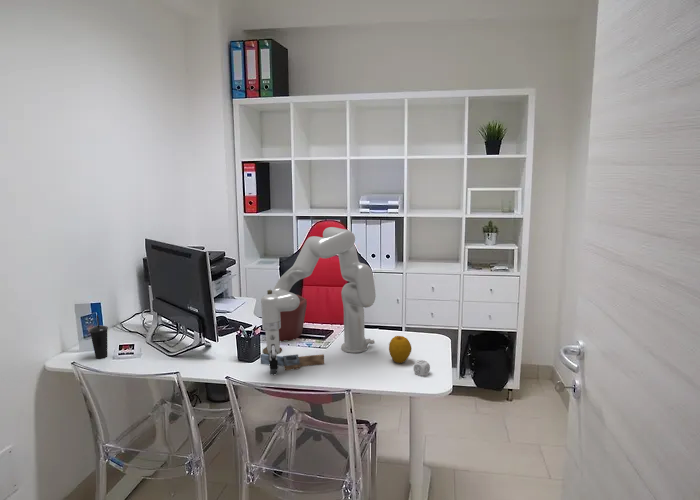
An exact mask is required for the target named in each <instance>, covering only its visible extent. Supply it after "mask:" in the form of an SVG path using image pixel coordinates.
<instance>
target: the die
mask: <svg viewBox="0 0 700 500" xmlns="http://www.w3.org/2000/svg"><path fill="white" fill-rule="evenodd" d="M430 371H431V365H430V363H429V362H428V361H427V360H424V359H419V360H417V361H415V362H414V364H413V372H414V374H415V375H417V376H418V377H425V376H428V374H429V373H430Z"/></svg>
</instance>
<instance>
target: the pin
mask: <svg viewBox="0 0 700 500" xmlns="http://www.w3.org/2000/svg"><path fill="white" fill-rule="evenodd" d="M271 353H272V351H271ZM271 356H272V354H271ZM269 360H270V354H269ZM269 374H270V375H271V374H273V375H272V376H275V375H274V374H276V375H278V369H270V368H269Z"/></svg>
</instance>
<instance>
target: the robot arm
mask: <svg viewBox="0 0 700 500" xmlns="http://www.w3.org/2000/svg"><path fill="white" fill-rule="evenodd" d="M355 242H356V236H355V234H354V232H353V231H351V230H349V229H345V228H340V227H335V226H330V227H326V228H325V229H324V230H323V232H322V237H321V236H316V235H315V236H313V235H312V236H309V237H308V238H307V239H306V240H305V242H304V244H303V245H302V247H301V250H300V251H299V254H298V255H297V258H296V260H295V262H294V263H293V265H292V266H291V267H290V268H289V269H287V270H286V271H285V272H284V273H283V274H282V275H281V276H280V277H279V279H278V280H277V282H276V283H275V285H274V287H273V289H272V291H273V292H272V294H265V295H263V296H262V297H261V298H260V300H261V301H260V303H261V305H260V306H261V324H262V330H263V331H265V342H266V347H267V349H268V353H269V354H270V360H269V362H270V365H269V370H270V369H277V370H278V368H279V367H278V360H277V356H278V354H281V352H280V347H281V345H280V341H279V330H278V329H280V328H281V320H280V312H282V311H293V310H295V309H296V308H297V307H298V306H299V304H300V300H299V298H298V296H297V295H298V294H295V293H293V292H290V291H291V289H292V287H293V286H294V285H295V284H296V283H297V282H299V281H300V280H303V279H305V278H308V277H310V276H311V275H312V274H313V271H314V269H315V267H316V266H317V264H318V262H319V259H330V258H332V257H335V256H338V260H339V269H340V273H341V277H342V279H343V280H344V281H347V282H348V283H345V284H344V285H343V286H342V288H341V291H340V292H341V301H342V305H343V306H342V307H343V336H344V337H343V340H344V341H343V343H341V345H340V349H341V350H342V351H343V352H346V353H351V354H359V353H363V352H366V351H367V350H368V348H369V345H374V344H376V343H375V339H371V338H365V309H364V308H371V307H372V306H373V305H374V303H376V302H375V301H376V297H377V296H376V295H377V294H376V286H375V280H374V274H373V270H372V268H371V267H370V265H367V264H366V263H364V262H363V263H362V262H360V260H359V257H358V251H357V248H356V246H355ZM271 351H272V353H271ZM276 351H277V352H276ZM277 353H278V354H277ZM271 354H272V356H271Z"/></svg>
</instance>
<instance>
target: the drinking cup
mask: <svg viewBox="0 0 700 500" xmlns="http://www.w3.org/2000/svg"><path fill="white" fill-rule="evenodd" d="M95 316H96V317H95V318H96V324H97V325H94V326H93V327H91V328H89V330H88V331H89V333H90V337H91V343H92V346H93V350H94V355H95V359H96V360H101V359H102V360H103V359H106V358H107V357H108V329H109V327H108V326H106V325H102V324H101V325H100V322H99V321H100V320H99V315H98V314H96V315H95Z"/></svg>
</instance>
